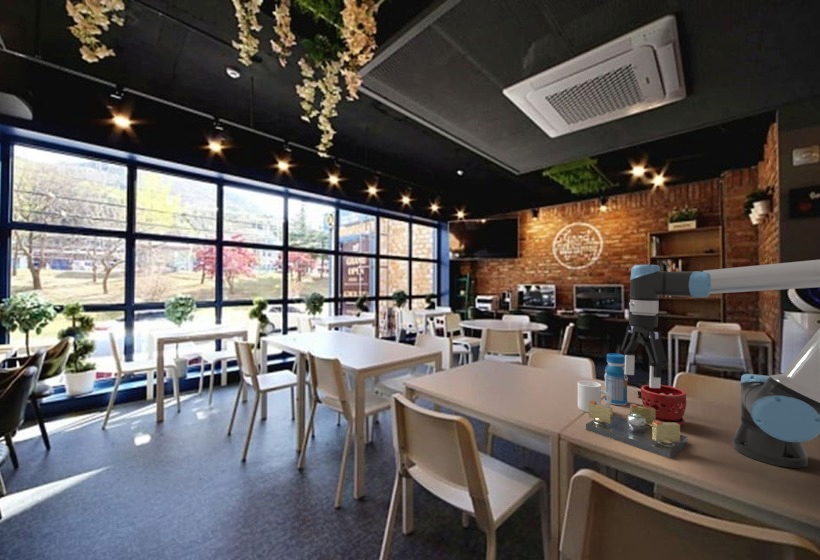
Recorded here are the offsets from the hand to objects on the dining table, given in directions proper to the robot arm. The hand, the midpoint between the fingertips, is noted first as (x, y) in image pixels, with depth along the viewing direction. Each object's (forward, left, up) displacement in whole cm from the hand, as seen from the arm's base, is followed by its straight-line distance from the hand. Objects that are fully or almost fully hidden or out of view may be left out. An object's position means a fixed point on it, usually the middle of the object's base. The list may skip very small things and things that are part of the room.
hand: (641, 380), depth 109 cm
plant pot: (+2, -24, -20) cm, 31 cm away
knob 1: (+13, 0, -17) cm, 21 cm away
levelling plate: (+3, -3, -19) cm, 20 cm away
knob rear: (+3, -10, -17) cm, 20 cm away
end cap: (+15, -51, -20) cm, 57 cm away
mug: (+22, -15, -20) cm, 33 cm away
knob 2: (-6, 0, -17) cm, 18 cm away
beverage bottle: (+21, -32, -20) cm, 43 cm away
